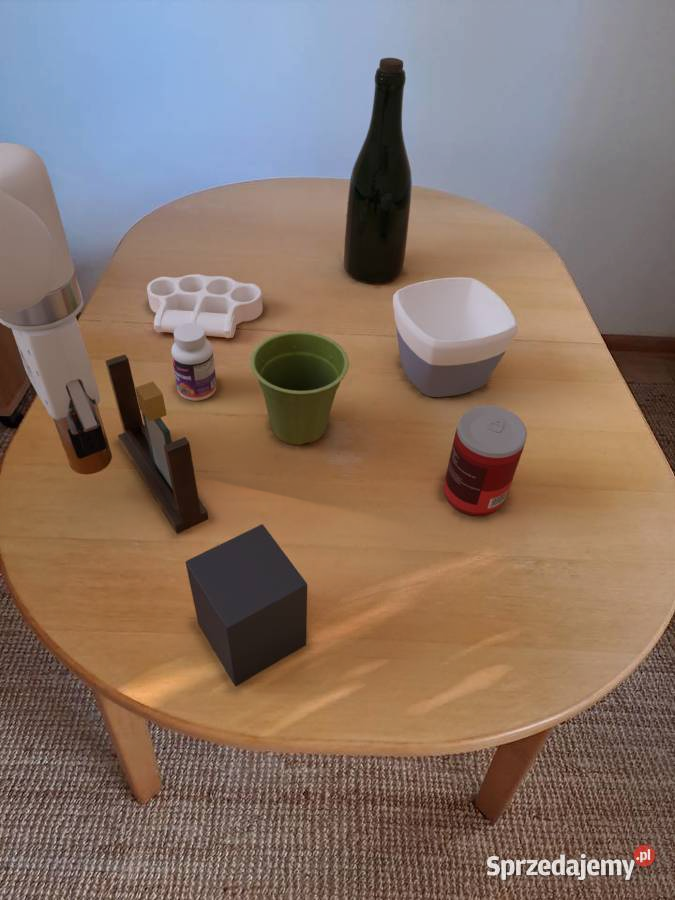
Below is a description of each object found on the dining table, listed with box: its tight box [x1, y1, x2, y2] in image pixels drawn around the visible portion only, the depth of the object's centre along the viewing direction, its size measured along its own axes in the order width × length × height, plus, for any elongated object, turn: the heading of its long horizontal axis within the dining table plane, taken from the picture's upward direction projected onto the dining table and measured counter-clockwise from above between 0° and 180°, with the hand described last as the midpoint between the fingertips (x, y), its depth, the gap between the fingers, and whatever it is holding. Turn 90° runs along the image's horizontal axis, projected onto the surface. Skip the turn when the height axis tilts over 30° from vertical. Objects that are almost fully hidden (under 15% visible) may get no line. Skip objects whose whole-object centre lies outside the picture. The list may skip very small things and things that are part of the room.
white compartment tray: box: [146, 273, 264, 339], centre depth 105 cm, size 3×18×15 cm
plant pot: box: [249, 330, 350, 446], centre depth 85 cm, size 12×12×11 cm
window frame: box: [104, 354, 210, 535], centre depth 77 cm, size 4×17×13 cm, turn 34°
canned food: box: [443, 404, 528, 517], centre depth 78 cm, size 8×8×11 cm
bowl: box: [392, 276, 519, 398], centre depth 94 cm, size 15×15×11 cm
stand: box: [185, 523, 308, 687], centre depth 64 cm, size 8×8×11 cm
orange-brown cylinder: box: [52, 400, 113, 475], centre depth 73 cm, size 5×5×9 cm
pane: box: [135, 381, 173, 493], centre depth 74 cm, size 2×7×14 cm, turn 34°
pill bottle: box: [170, 323, 218, 402], centre depth 90 cm, size 5×5×10 cm
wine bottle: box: [343, 57, 413, 285], centre depth 105 cm, size 10×10×33 cm
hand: (82, 436), depth 73 cm, fingers closed on orange-brown cylinder, 4 cm apart
